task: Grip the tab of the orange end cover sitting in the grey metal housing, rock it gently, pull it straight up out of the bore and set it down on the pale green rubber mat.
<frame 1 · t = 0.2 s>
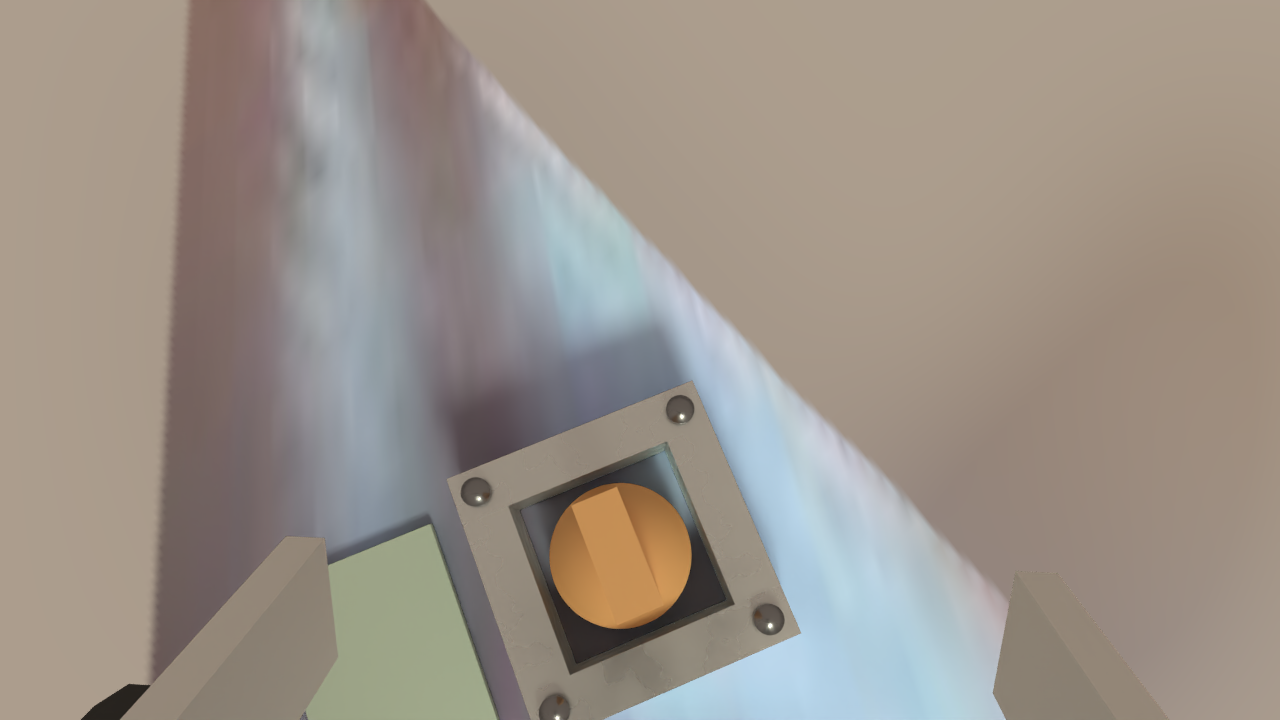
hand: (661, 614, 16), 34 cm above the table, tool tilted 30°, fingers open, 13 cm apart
housing: (621, 554, 50), on the table
mat: (385, 653, 48), on the table
end cover: (621, 554, 50), resting in housing
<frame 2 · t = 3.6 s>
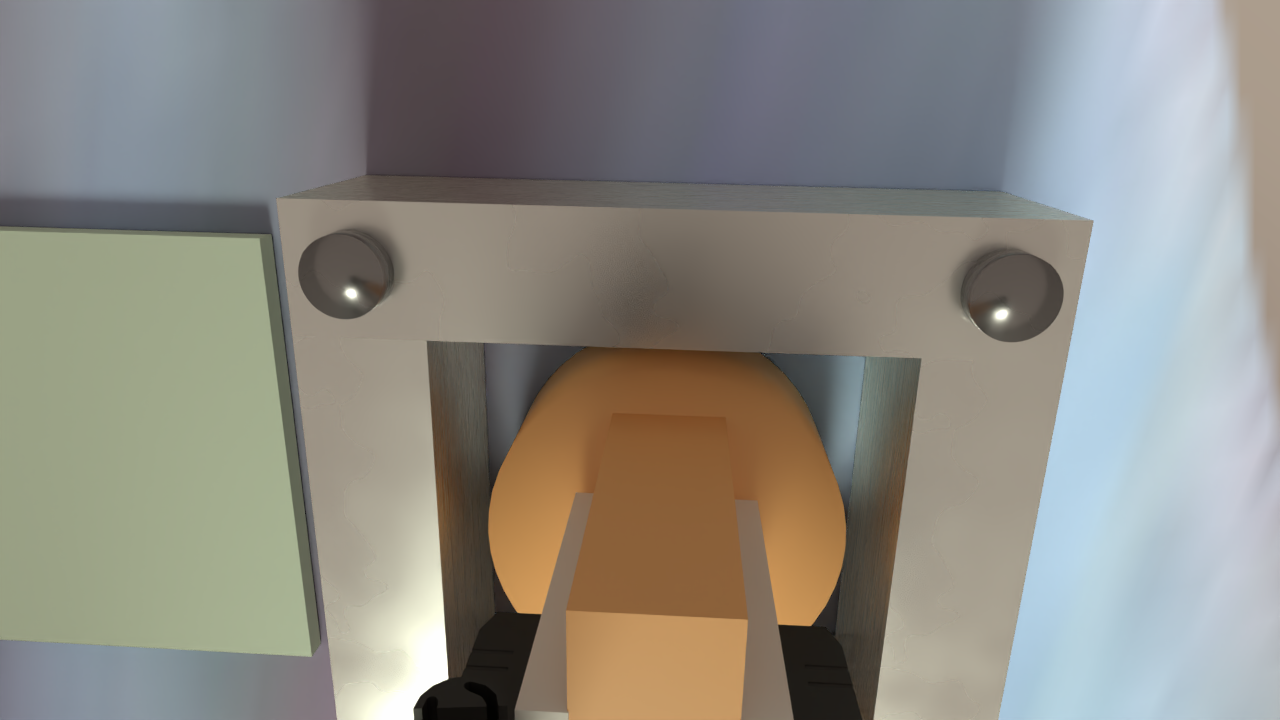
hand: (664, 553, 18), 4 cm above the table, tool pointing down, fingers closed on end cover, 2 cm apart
housing: (668, 471, 22), on the table
mat: (119, 448, 22), on the table
end cover: (668, 470, 22), resting in housing, touching gripper
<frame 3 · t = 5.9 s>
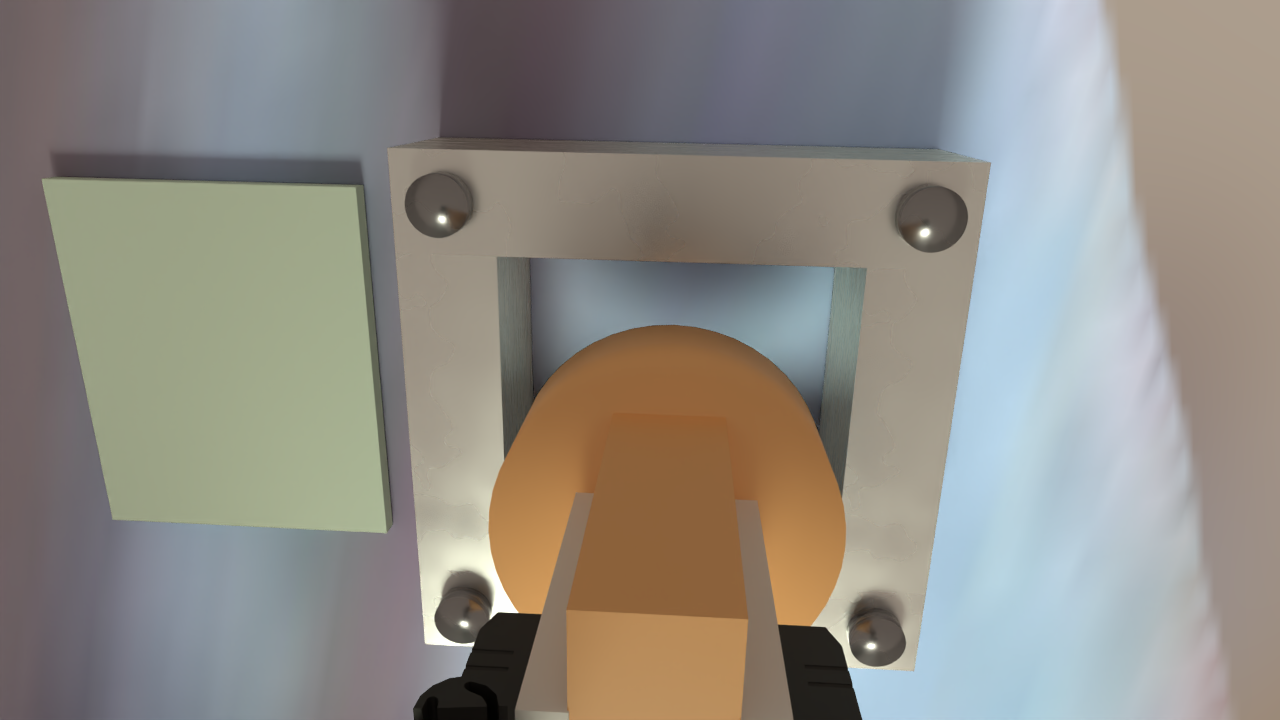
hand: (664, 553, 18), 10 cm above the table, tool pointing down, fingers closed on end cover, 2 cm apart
housing: (676, 377, 27), on the table
mat: (234, 360, 28), on the table
end cover: (668, 470, 22), point 6 cm above the table, touching gripper
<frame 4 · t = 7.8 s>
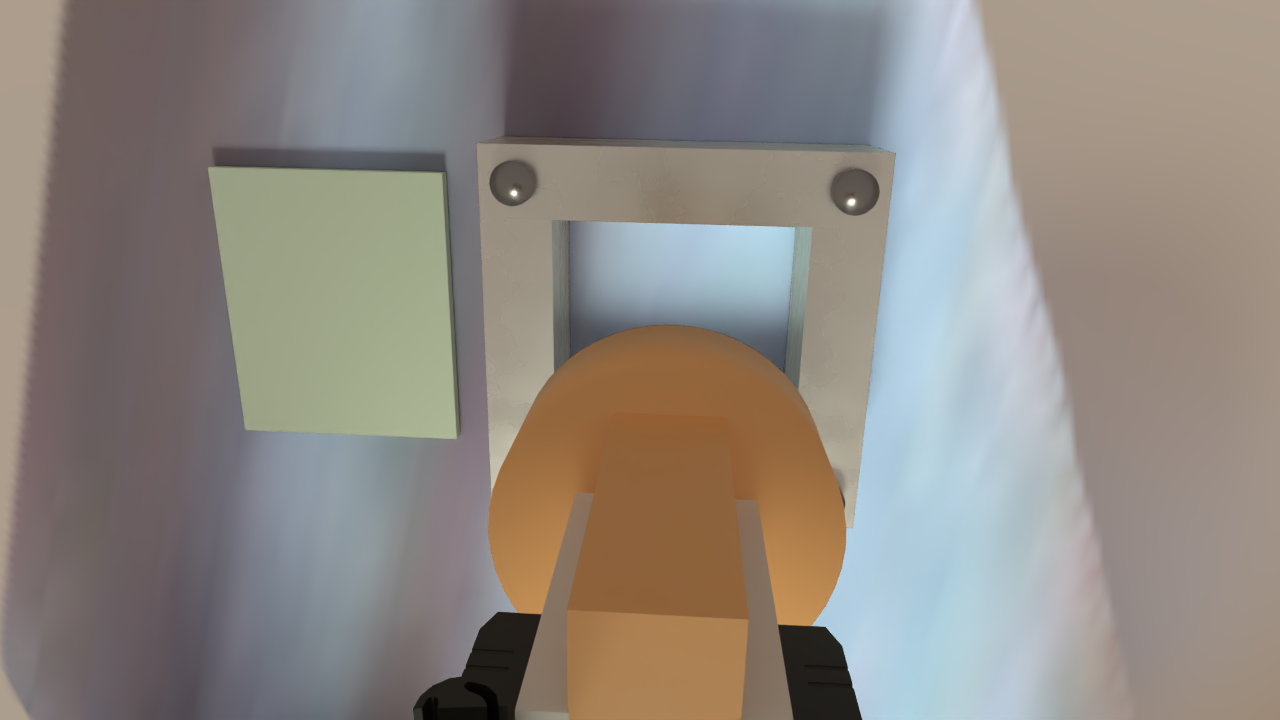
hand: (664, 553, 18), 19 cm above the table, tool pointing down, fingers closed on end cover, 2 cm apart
housing: (678, 317, 36), on the table
mat: (343, 305, 37), on the table
end cover: (668, 470, 22), point 15 cm above the table, touching gripper
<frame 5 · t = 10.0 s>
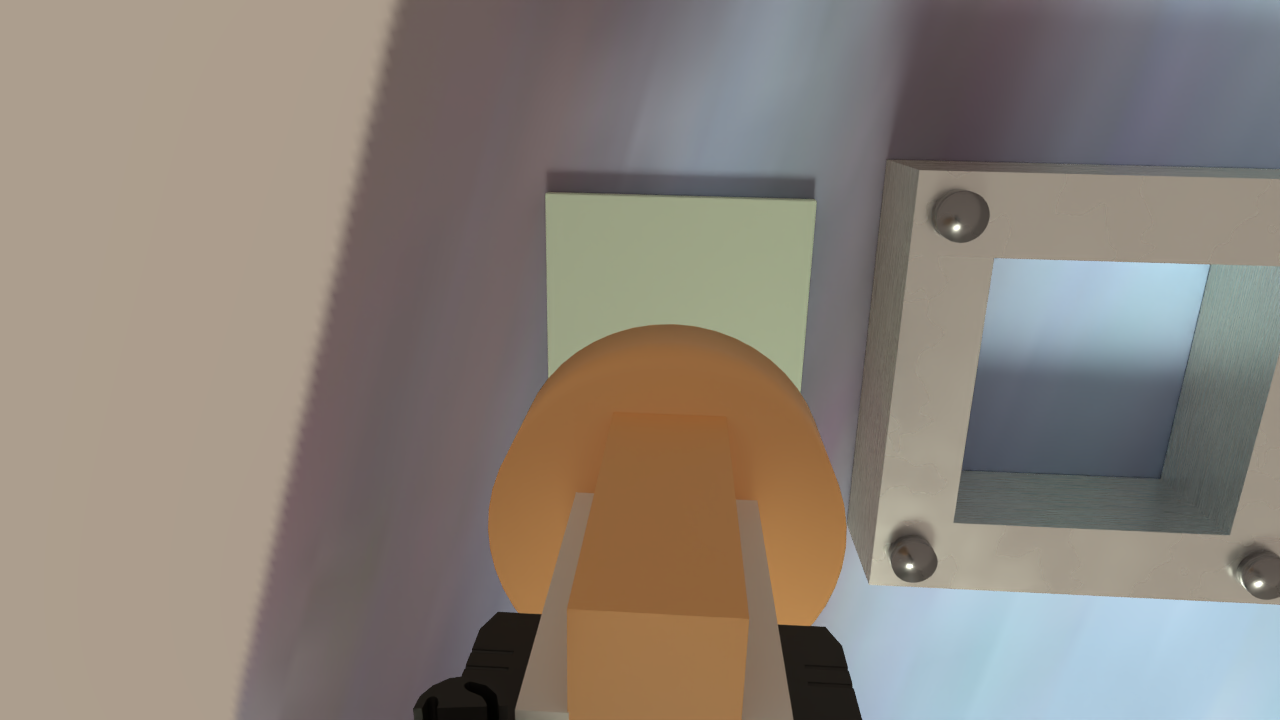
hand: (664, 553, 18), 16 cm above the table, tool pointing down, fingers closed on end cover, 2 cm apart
housing: (1060, 361, 32), on the table
mat: (674, 348, 33), on the table
end cover: (668, 470, 22), point 12 cm above the table, touching gripper
when the fingers open (6 cm above the table, at t = 12.1 s): end cover drops 2 cm, resting on mat.
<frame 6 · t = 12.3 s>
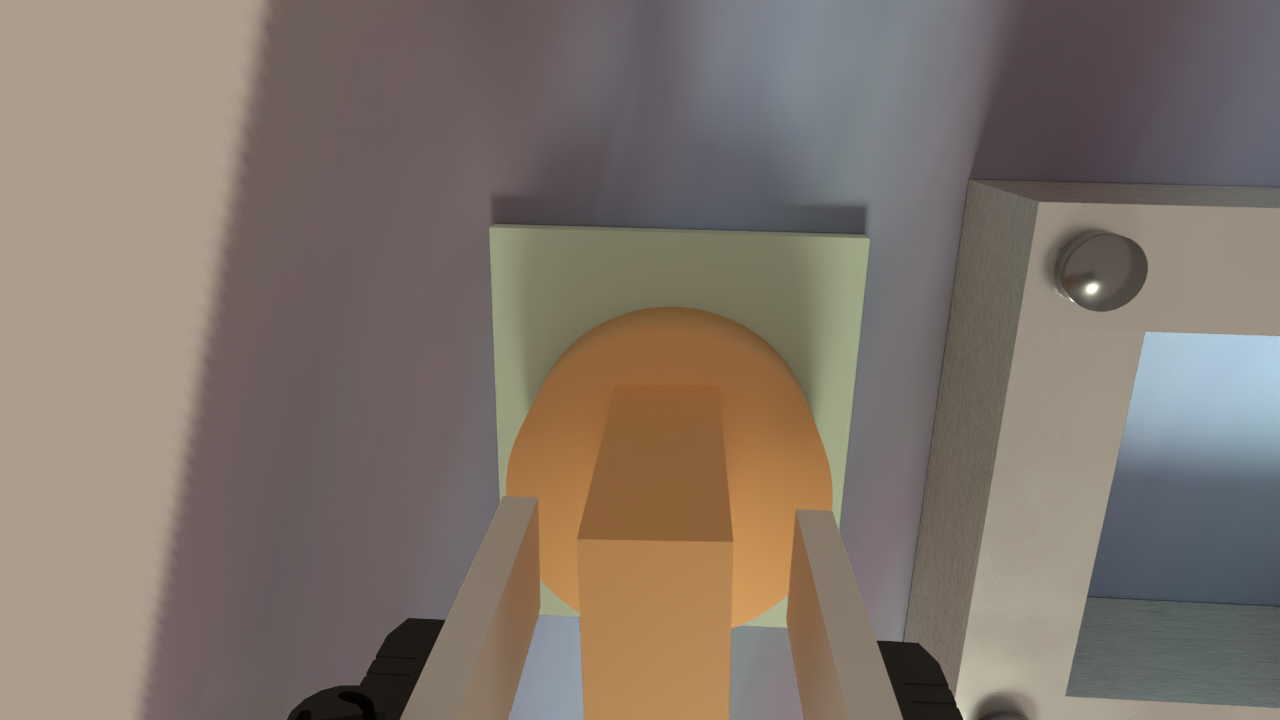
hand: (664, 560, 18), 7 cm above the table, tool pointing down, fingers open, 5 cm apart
housing: (1200, 455, 23), on the table
mat: (670, 434, 24), on the table
end cover: (670, 442, 23), point 1 cm above the table, touching mat
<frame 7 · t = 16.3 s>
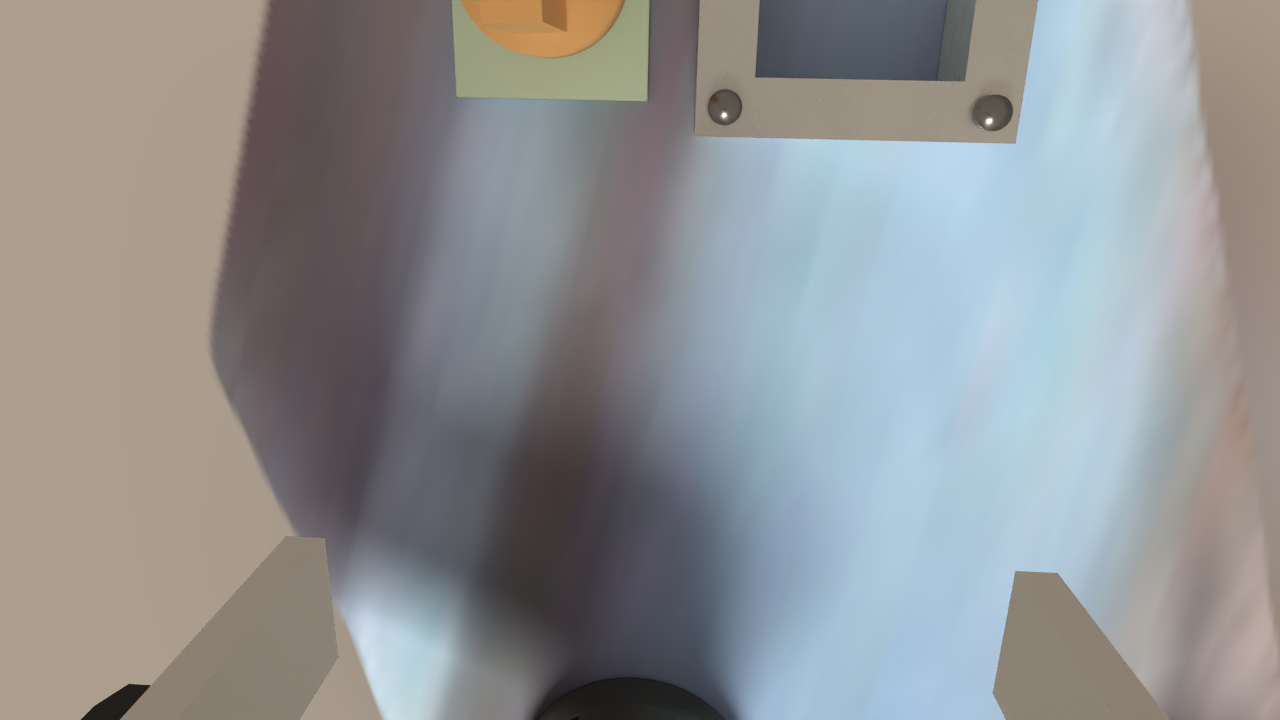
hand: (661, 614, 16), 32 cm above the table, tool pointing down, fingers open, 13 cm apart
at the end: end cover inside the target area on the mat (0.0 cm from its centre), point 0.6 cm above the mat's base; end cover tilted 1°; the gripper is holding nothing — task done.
